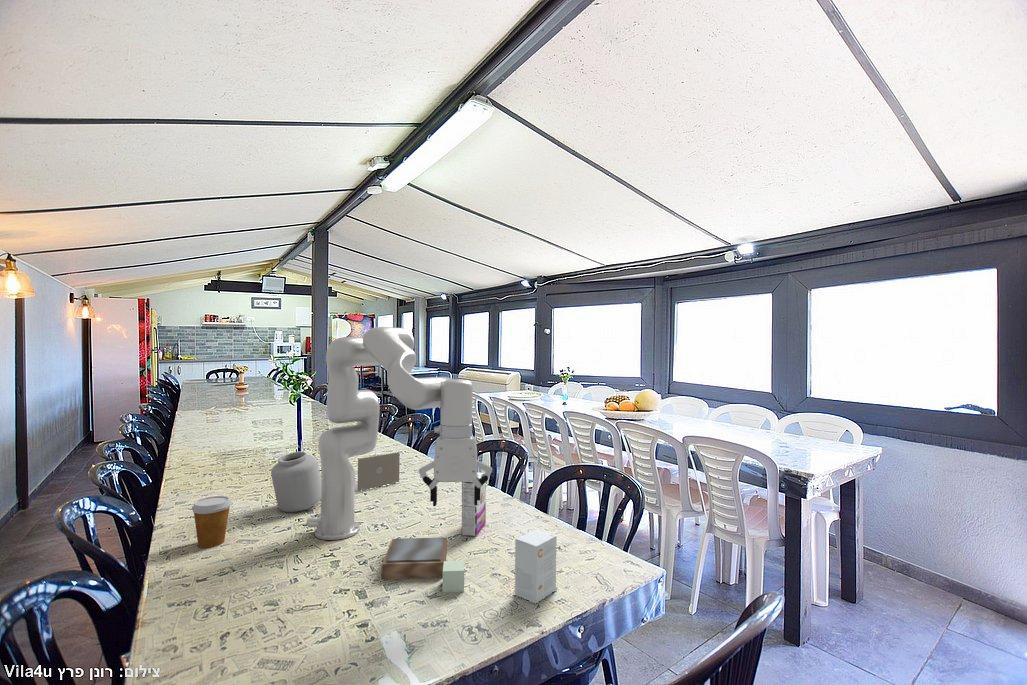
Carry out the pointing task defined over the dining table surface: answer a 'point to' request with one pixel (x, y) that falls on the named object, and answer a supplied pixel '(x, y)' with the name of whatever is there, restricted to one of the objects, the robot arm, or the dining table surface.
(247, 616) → the dining table surface
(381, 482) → the laptop
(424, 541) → the walnut base
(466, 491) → the candy bar box
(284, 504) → the jar
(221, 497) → the disposable coffee cup
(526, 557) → the small box
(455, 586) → the sage cube
